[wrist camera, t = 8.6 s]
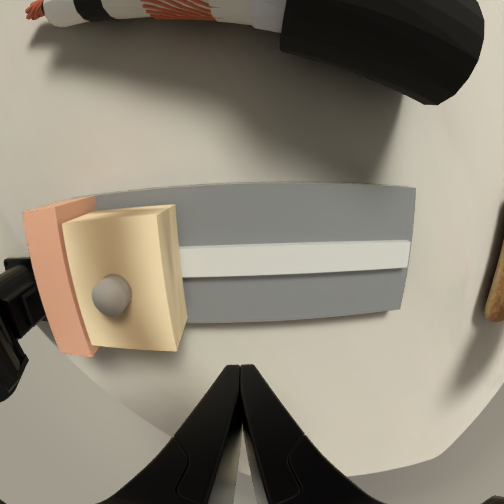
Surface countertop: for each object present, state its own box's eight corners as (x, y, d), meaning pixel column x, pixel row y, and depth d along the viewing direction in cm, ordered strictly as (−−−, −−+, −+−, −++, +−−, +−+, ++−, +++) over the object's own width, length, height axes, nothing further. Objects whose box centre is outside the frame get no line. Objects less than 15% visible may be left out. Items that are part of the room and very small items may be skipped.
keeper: (113, 315, 19) (84, 355, 14) (93, 211, 17) (49, 228, 12) (187, 317, 19) (173, 364, 14) (175, 204, 17) (149, 220, 12)
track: (95, 310, 22) (60, 352, 15) (74, 197, 19) (22, 212, 12) (392, 301, 22) (430, 340, 16) (405, 186, 19) (458, 197, 13)
